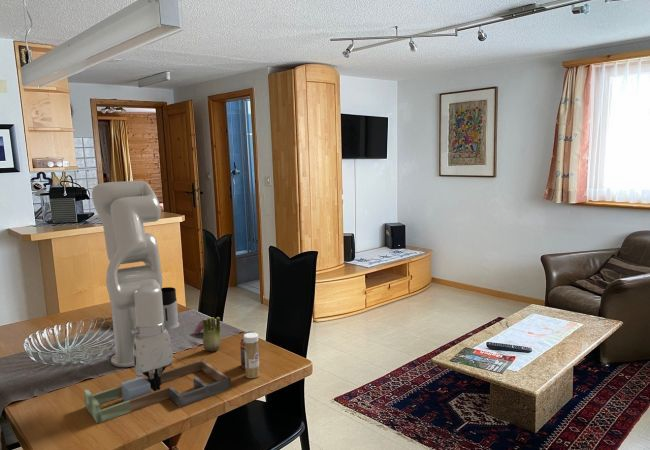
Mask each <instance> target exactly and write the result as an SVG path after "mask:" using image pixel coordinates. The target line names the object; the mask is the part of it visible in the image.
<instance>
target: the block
mask: <svg viewBox="0 0 650 450" xmlns="http://www.w3.org/2000/svg"><path fill="white" fill-rule="evenodd" d="M145 378H146V377H144V376H139V377H136V378H134V379H129V380H128V381H127V380H126V381H124V382H121V385H120V386H121V387H122V397H121V398H122V401H123V402H125V401H128V400H131V399H133V398H136V397H139V396H142V395H145V394H148V393H151V392H152V389H151V386H150V383H149V382H148V381H147V380H146V379H145Z"/></svg>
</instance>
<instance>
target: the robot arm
mask: <svg viewBox="0 0 650 450" xmlns="http://www.w3.org/2000/svg"><path fill="white" fill-rule="evenodd" d="M91 190H92V191H91V199H92V202H93V206H94V209H95V211H96V213H97V215H98V217H99V218H100V221H101V223H102V227H103V235H104V241H105V242H104V243H105V250H106V254H107V259H108V261H109V263H108V266H107V269H106V276H105V277H106V279H105V285H106V289H107V294H108V297H109V301H110V308H111V317H112V329H113V338H114V341H113V342H114V349H115V354H114V355H112V357H111V358H110V359H111V360H110V362H111V364H112V366H114V367H117V368H130V367H133V368H134V375H136V376H139V377H140V376H145V377H148V380H149V383H150V386H151V391H152V392H154V391H157V390H160V389H161V385H162V383H161V375H162V372H164V371H165V369H167V368H168V367H170V366H172V365H173V362H174V355H173V347H172V343H171V342H172V341H171V337H170V334H169V331H168V330H165V328H164V315H163V301H162V291H161V288H163V282H164V281H163V273H162V266H161V258H160V252H159V250H160V249H159V245H158V242H157V240H156V238H155V236H154V235H153V234H152V233H149V232H145V227H144V224H145V223H146V224H147V223H155V222H158V221H159V220H160V218H161V215H162V210H161V205H160V202H159V199H158V197H157V195H156V193H155V192H154V190H153V189H152V187H151V186H150V184H149V183H148V182H147V181H144V180H130V181H129V180H128V181H111V182H110V181H108V182H103V183H99V184H96V185H95V186H94V187H93V188H92V189H91ZM140 262H142V263H144V264H142V265H138V266H131V267H130V266H129V267H124V268H123V267H122V268H119V267H120V265H125V264H133V263H140ZM153 370H154V371H153Z"/></svg>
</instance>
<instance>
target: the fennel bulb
mask: <svg viewBox="0 0 650 450" xmlns="http://www.w3.org/2000/svg"><path fill="white" fill-rule="evenodd" d="M202 319H203V325H204V332H203V334H202V335H203V337H202V344H203V345H202V346H203V348H204V349H205V351H207V352H216V351H218V350H219V349H220V348H221V345H222V333H221V332H222V331H221V329H220V324H221V317H219V316H217V317H216V318H215V317H214V316H213V317H211V318H210V317H208V318H202ZM210 319H211V321H210ZM207 320H208V324H207ZM215 320H216V325H215ZM211 323H212V327H211Z"/></svg>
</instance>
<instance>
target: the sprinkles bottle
mask: <svg viewBox="0 0 650 450" xmlns="http://www.w3.org/2000/svg"><path fill="white" fill-rule="evenodd" d="M242 339H244V349H245V350H244V354H245V369H244V370H245V377H246V378H247V379H256V378H258V377H259V376H260V374H261V372H260V352H259V353H258V341H259V334H258V333H256V332H255V333H247V334H245V335H244V336H243V335H242Z"/></svg>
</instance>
